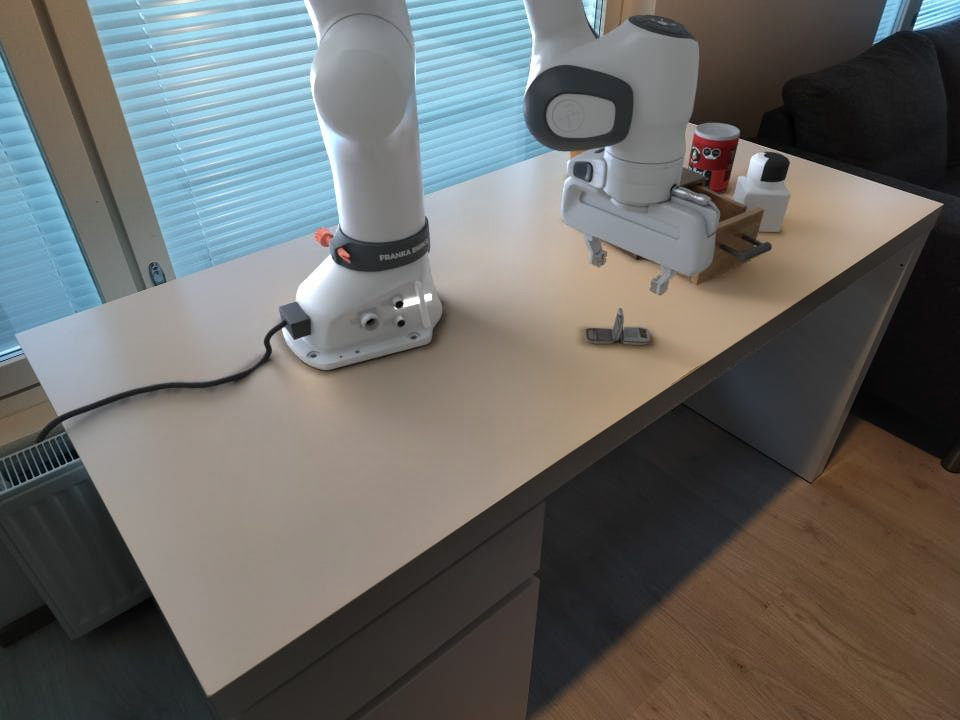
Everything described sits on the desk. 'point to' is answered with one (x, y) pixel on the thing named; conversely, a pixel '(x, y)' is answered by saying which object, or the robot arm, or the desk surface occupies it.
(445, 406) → the desk surface
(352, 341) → the robot arm
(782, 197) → the medicine bottle
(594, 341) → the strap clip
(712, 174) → the canned food
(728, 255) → the drawer
